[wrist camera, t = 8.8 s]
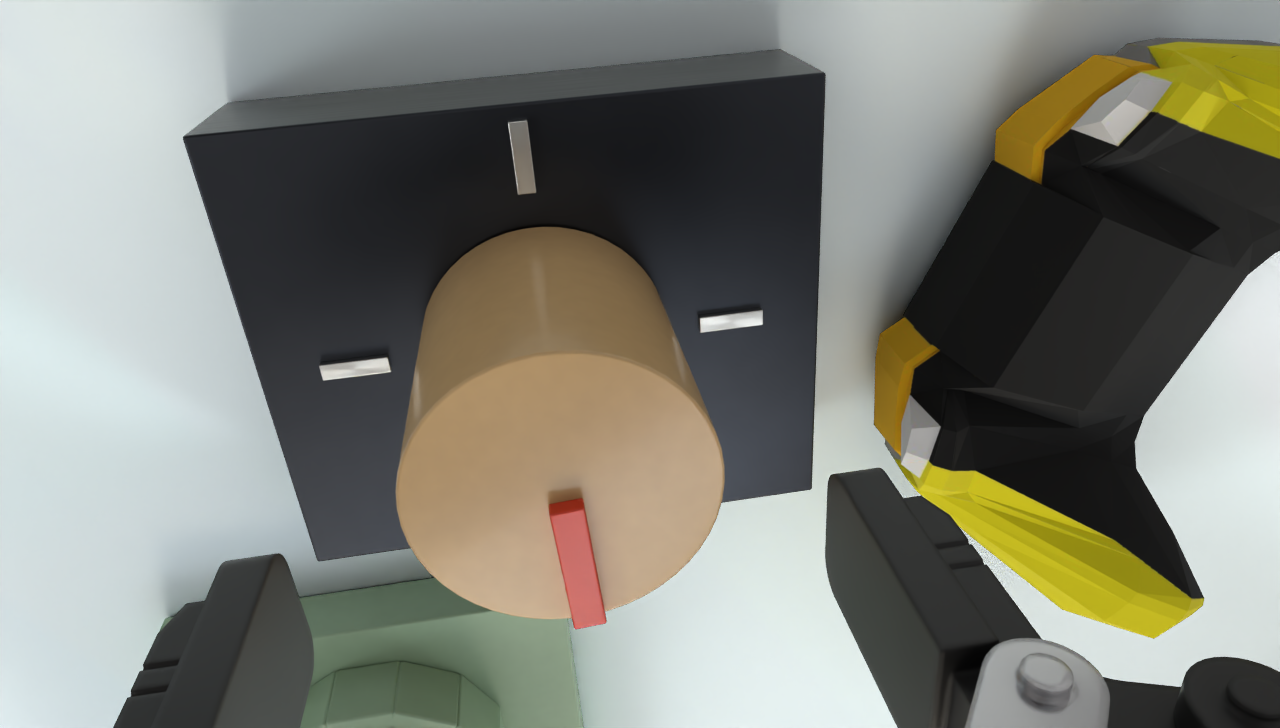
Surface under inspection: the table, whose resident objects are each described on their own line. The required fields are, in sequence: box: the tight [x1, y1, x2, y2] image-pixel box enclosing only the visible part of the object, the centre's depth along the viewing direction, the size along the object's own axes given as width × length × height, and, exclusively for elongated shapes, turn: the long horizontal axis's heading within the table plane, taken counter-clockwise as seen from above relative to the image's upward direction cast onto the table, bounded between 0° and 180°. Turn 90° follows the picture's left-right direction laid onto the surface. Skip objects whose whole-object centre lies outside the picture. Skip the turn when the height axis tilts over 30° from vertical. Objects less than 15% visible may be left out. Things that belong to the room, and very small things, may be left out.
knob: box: [395, 227, 725, 629], centre depth 16 cm, size 5×5×6 cm
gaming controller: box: [874, 38, 1280, 638], centre depth 21 cm, size 15×6×10 cm
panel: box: [183, 49, 826, 561], centre depth 20 cm, size 12×10×3 cm
